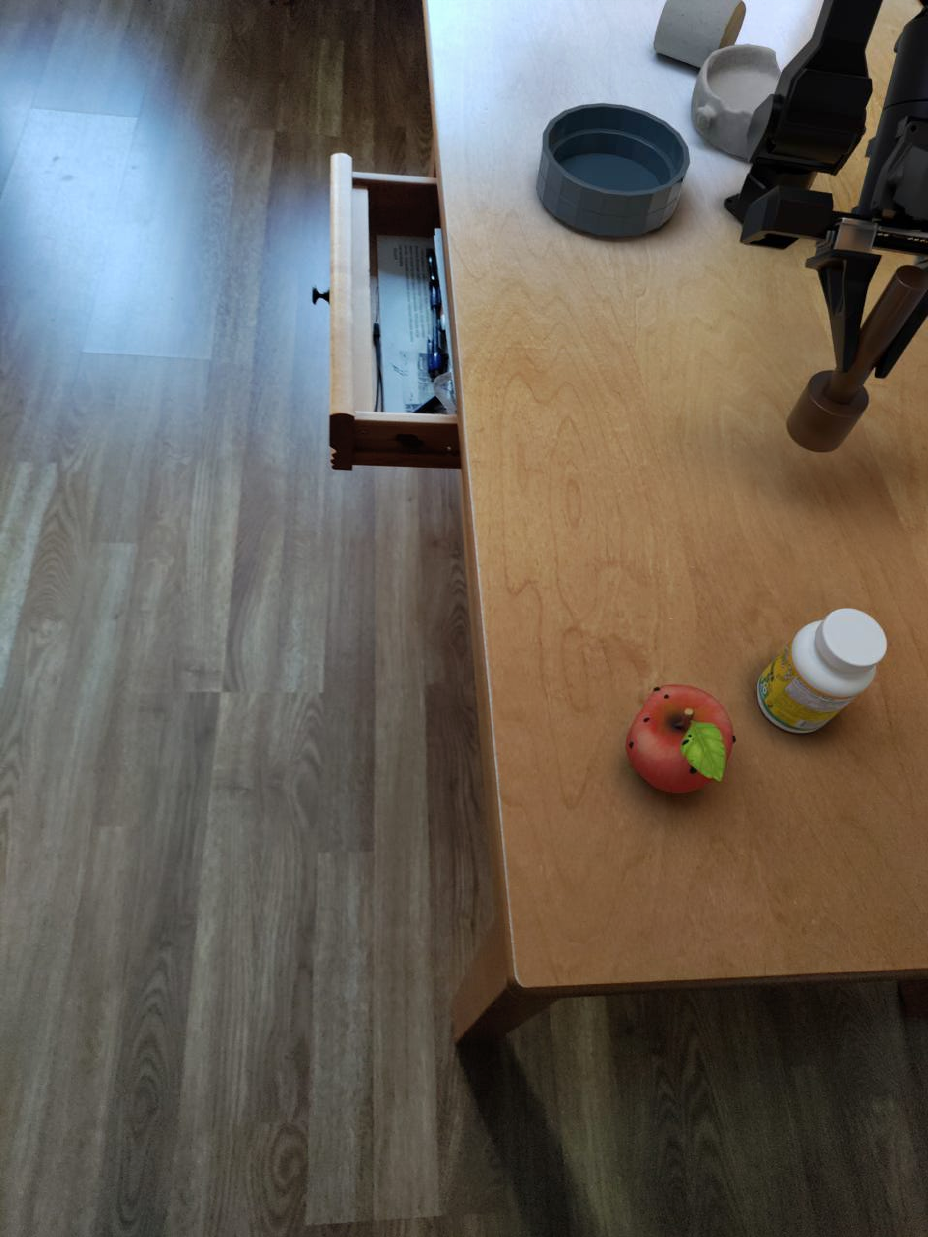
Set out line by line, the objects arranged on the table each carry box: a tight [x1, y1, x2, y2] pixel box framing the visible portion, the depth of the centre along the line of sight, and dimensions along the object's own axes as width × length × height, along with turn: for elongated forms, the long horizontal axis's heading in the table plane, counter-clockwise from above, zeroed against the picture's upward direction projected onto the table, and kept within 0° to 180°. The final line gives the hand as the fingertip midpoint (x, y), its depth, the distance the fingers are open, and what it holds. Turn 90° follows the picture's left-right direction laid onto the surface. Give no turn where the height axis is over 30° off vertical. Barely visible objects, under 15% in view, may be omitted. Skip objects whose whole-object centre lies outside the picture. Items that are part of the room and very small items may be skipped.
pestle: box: [785, 264, 928, 454], centre depth 58 cm, size 4×4×14 cm
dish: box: [690, 43, 782, 159], centre depth 91 cm, size 14×14×5 cm
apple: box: [625, 683, 737, 794], centre depth 53 cm, size 8×7×10 cm
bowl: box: [535, 102, 691, 238], centre depth 84 cm, size 14×14×5 cm
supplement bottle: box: [756, 608, 888, 734], centre depth 56 cm, size 5×5×10 cm
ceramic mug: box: [653, 0, 747, 69], centre depth 97 cm, size 11×8×8 cm
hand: (860, 375), depth 58 cm, fingers closed on pestle, 2 cm apart
